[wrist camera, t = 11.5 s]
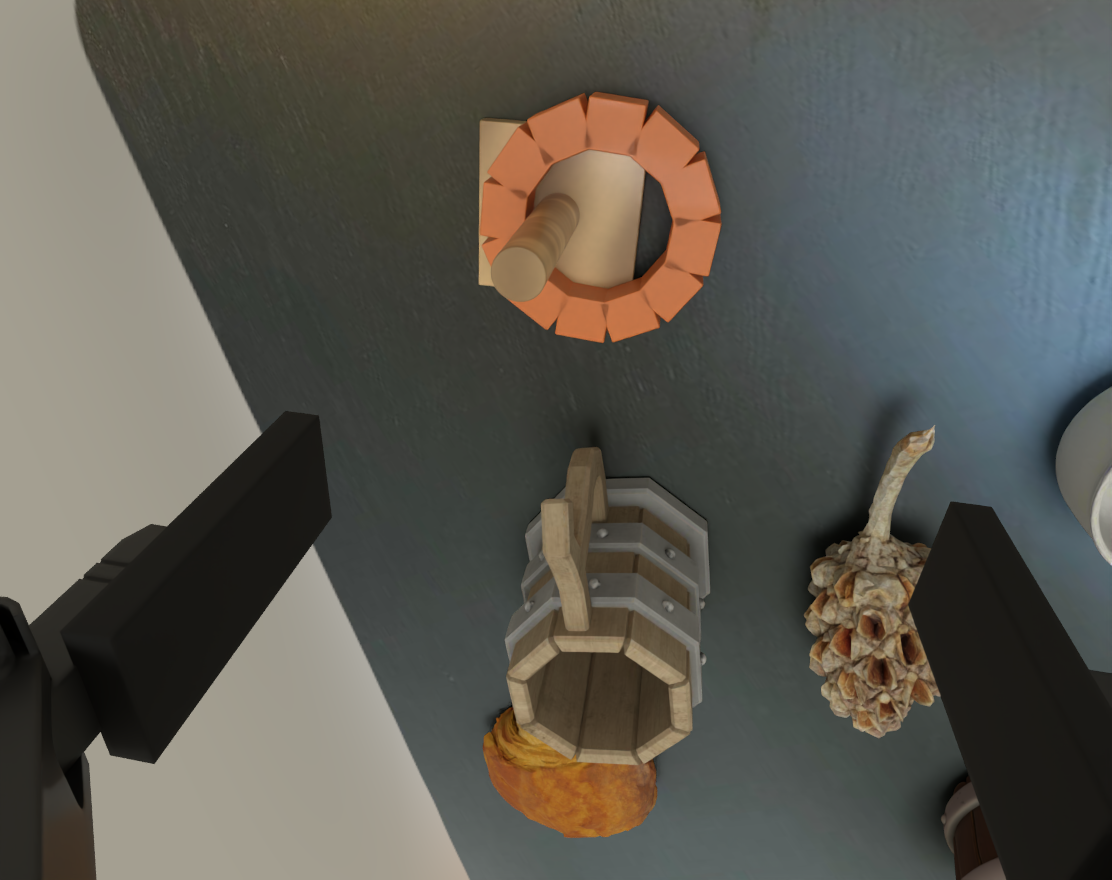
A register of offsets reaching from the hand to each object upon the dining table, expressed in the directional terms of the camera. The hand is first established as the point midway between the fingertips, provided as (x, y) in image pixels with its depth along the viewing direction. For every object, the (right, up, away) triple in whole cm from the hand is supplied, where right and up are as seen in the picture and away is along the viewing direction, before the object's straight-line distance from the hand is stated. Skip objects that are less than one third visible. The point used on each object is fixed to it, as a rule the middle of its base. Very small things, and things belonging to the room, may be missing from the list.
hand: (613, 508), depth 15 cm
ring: (+1, +14, +24) cm, 28 cm away
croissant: (0, -25, +48) cm, 54 cm away
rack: (-1, +14, +26) cm, 30 cm away
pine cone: (+20, -5, +33) cm, 39 cm away
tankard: (+3, -3, +35) cm, 36 cm away
